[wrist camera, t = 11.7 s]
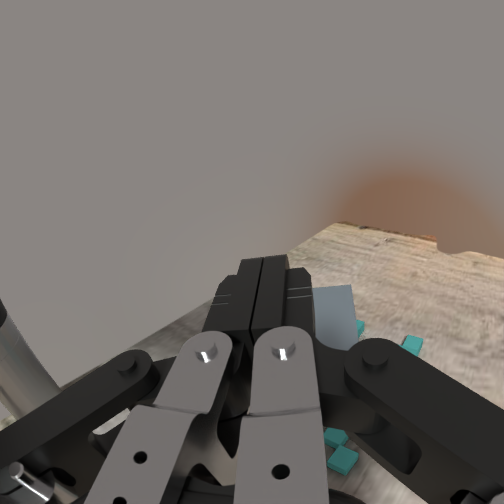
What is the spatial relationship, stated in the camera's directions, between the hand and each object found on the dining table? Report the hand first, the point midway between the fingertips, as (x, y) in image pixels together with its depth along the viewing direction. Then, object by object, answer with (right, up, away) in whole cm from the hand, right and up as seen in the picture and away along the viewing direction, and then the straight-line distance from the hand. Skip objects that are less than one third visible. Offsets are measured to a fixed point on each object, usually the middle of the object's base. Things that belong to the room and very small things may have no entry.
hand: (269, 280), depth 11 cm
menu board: (+8, -12, +23) cm, 27 cm away
